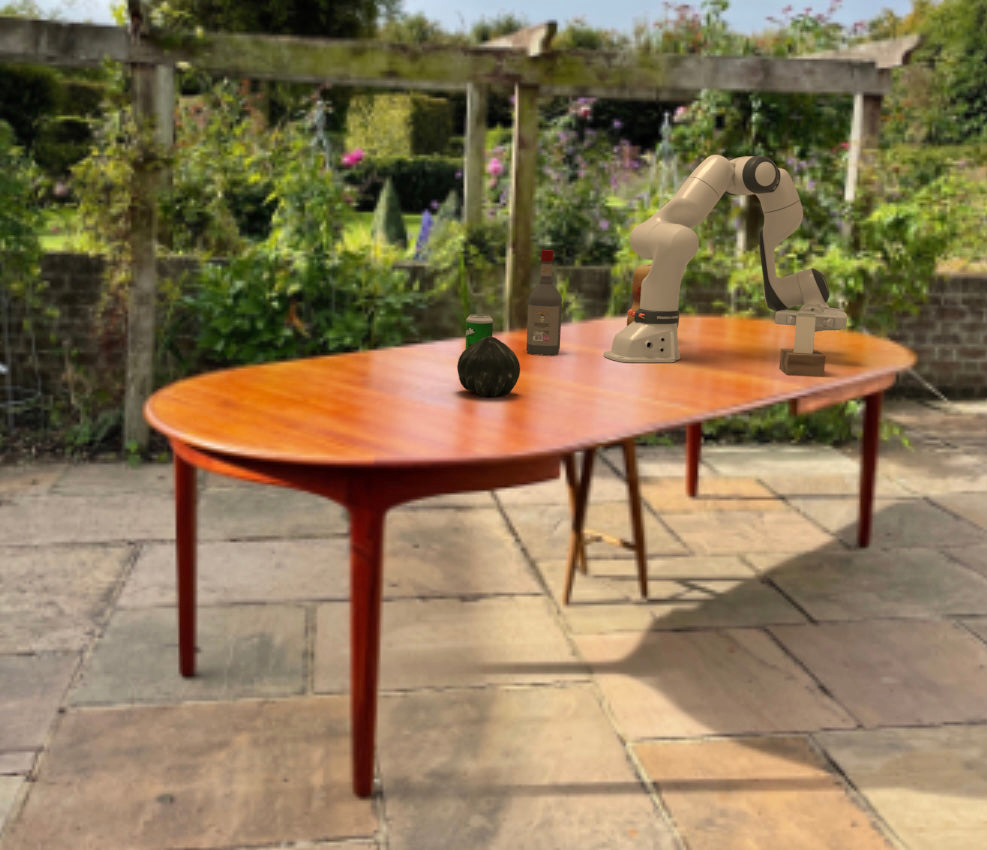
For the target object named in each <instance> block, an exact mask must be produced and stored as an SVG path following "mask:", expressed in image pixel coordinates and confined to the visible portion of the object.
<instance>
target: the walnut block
mask: <svg viewBox="0 0 987 850" xmlns="http://www.w3.org/2000/svg"><path fill="white" fill-rule="evenodd" d="M826 357H827V356H826V355H825V354H823V353H822V352H821V351H819V350H817V349H813V353H812V354H805V353H794V348H781V349H780V357H779V366H778V367H779V368H778V369H779V370H780V371H781V372H782V373H783V374H785V376H795V377H797V376H799V377H800V376H801V377H822V378H824V376H825V375H824V374H825V368H826Z"/></svg>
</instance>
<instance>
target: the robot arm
mask: <svg viewBox="0 0 987 850" xmlns="http://www.w3.org/2000/svg"><path fill="white" fill-rule="evenodd" d="M724 194H727V195H730V196H738V195H739V196H753V195H755V196H756V197H757V198H758V200H759V202H760V206H761V210H762V212H763V213H762V214H763V217H764V219H763V220H764V223H763V227H762V228H761V230H759V233H758V246H759V247H758V248H759V257H760V265H761V272H762V279H763V298H764V299H763V300H764V303H765V305H766V306H767V308H768V309H770V310H771V311H774V312H775V315H774V316H775V317H774V324H775V325H776V324H777V325H783V326H795V327H796V317H797V314H798V311H804V312H816V315H815V316H816V324H815V333H817V332H823V331H824V332H825V331H842V330H846V329H847V324H848V323H847V322H848V314H847V313H846V312H844V308H842V307H837V306H831V305H828V302H829V301H828V300H829V299H830V290H829V286H828V283H827V281H826V278H825V276H824V275H823V273H822V272H820V271H819V270H818V269H816V268H812V267H811V268H807V269H805V270H801V271H798V272H796V273H792V274H789V275H787V276H782V277H779V276H777V270H776V262H775V261H776V260H775V251H776V248H777V247H778V246H779V245H780V244H781V243H782V242H783V241H784V240H787V238H788V237H790V236H791V235H792V234H794V232H796V230H797V229H798V228H799V227H800V226H801V223H802V221H803V219H804V212H803V211H804V210H803V207H802V206H803V205H802V203H801V199H800V196H799V193H798V190H797V188H796V186H795V183H794V181H793V179H792V177H791V175H790V174H789V172H788V170H786V169H784V168H780V167H778V166H777V165H776V163H775V162H774V161H773V160H772V159H771V158H769V157H767V156H763V155H755V156H752V155H751V156H749V155H747V156H746V155H745V156H740V157H739V156H738V157H736V158H730V159H728V158H726V157H725V156H723V155H720V154H711V155H709V156H707V158H705V159H704V160H702V162H701V163H700V164H699V165H698V166H697V167H696V168H695V169H694V170H693V171H692V172H691V174H690V175H689V176H688V178H687V179H685V181H684V182H683V184H682V185H681V186H680V188H679V189H678V191H677V192H676V193H675V194H674V195H673V197H671V199H669V201H668V202H667V203H665V204H664V205H663V206H662V207H661V208H660V209H659V210H657V212H655V213H654V214H653V215H652V216H650V217H649V218H648V219H646V220H644V221H643V222H642V223H640V224H638V225H636V226H635V227H634V228H633V229H632V231H631V233H630V236H629V244H630V247H631V250H633V252H634V253H635V254H637V255H639V256H640V257H642V258H644V259H646V260H650V261H651V260H652V262H651V263H652V266H651V269H650V271H649V273H648V275H647V276H646V277H645V278H644V279H643V281H642V284H641V299H640V308H639V309H638V310H637V311H635V310H632V309H631V308H630V309H628V310H627V313H626V314H627V317H628V316H631V317H634V316H635V317H634V321H633V322H632V323H631V324H629V325H628V326H627V325H626V327H625V328H623V329H622V330H620V331H619V332H618V333H616V334H615V335H614V337H613V340H612V345H611V350H608V351H604V352H603V357H605V358H607V359H610V360H612V361H616V362H621V363H622V362H623V363H675V362H676V361H677V360H681V355H680V350H679V341H678V327H679V322H680V309H679V302H680V293H681V291H680V290H681V284H682V280H683V276H684V273H685V272H686V268H687V266H688V264H689V262H690V261H691V260H692V259H694V257H695V256H696V255H697V253H698V251H699V245H700V240H699V237H698V235H697V233H696V232H695V231H694V230H693V228H695V227H696V226H698V225H700V224H702V223H703V222H704V221H705V220H706V218H707V217H708V215H710V213H711V211H713V209H714V208H715V207H716V205H717V203H718V202H719V201H720V199H721V198H722V197H723V195H724ZM800 305H802V306H801V307H800V308H799V309H798V310H792V309H791V308H794V307H798V306H800ZM790 309H791V310H790Z"/></svg>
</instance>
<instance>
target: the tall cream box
mask: <svg viewBox="0 0 987 850" xmlns="http://www.w3.org/2000/svg"><path fill="white" fill-rule="evenodd" d="M797 311H798V314H797V317H796V326H795V329H794V331H795V332H794V341H793V342H794V343H793V349H794V353H805V354H812V353H813V350H814V347H815V346H814V345H815V344H814V343H815V334H816V332H815V324H816V316H815V315H816V312H804V311H799V310H797Z"/></svg>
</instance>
